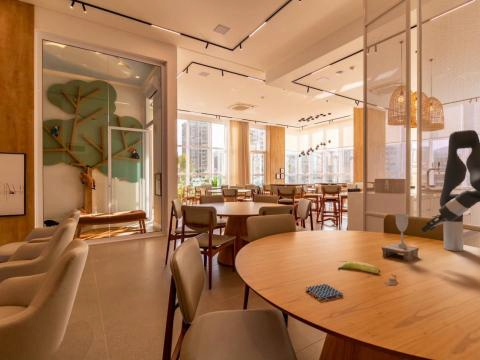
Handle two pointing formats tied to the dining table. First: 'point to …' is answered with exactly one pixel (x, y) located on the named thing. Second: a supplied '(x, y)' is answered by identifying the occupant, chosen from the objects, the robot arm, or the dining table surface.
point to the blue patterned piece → (324, 292)
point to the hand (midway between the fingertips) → (426, 229)
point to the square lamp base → (401, 251)
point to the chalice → (402, 227)
